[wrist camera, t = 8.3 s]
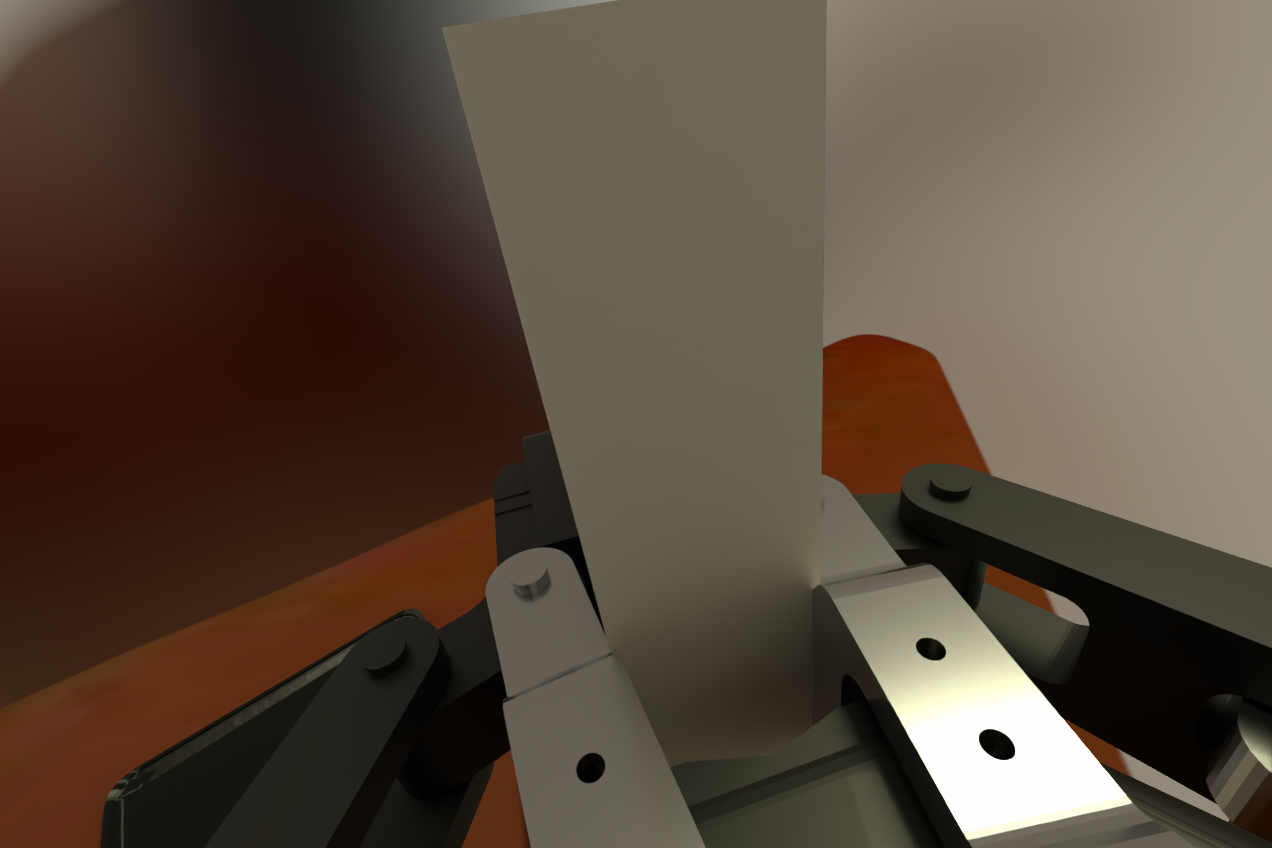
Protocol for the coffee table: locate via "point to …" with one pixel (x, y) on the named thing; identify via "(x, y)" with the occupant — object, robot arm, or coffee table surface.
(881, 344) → the coffee table surface
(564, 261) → the door leaf
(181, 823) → the phone
